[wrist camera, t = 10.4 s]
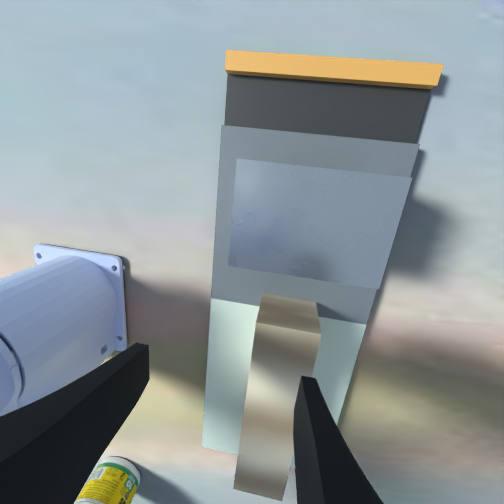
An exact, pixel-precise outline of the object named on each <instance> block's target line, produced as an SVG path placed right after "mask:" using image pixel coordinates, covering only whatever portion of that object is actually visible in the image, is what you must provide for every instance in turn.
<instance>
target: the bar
mask: <svg viewBox="0 0 504 504" xmlns="http://www.w3.org/2000/svg"><path fill="white" fill-rule="evenodd" d="M321 335H322V333H321V328H320V322H319V317H318V312H317V306H316V302H315V301H309V300H303V299H297V298H291V297H285V296H279V295H273V294H267V293H263V294H262V298H261V303H260V307H259V311H258V316H257V320H256V326H255V333H254V340H253V348H252V355H251V363H250V370H249V377H248V385H247V392H246V399H245V407H244V414H243V422H242V429H241V436H240V444H239V451H238V458H237V466H236V473H235V480H234V488H233V489H236V490H240V491H244V492H248V493H252V494H256V495H260V496H264V497H268V498H272V499H275V500H279V501H282V499H283V495H284V491H285V487H286V482H287V478H288V474H289V470H290V466H291V461H292V457H293V453H294V443H293V421H294V407H295V402H296V397H297V393H298V388H299V384H300V379H301V375H302V376H307V377H312V373H313V369H314V365H315V361H316V356H317V352H318V348H319V344H320V340H321Z"/></svg>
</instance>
